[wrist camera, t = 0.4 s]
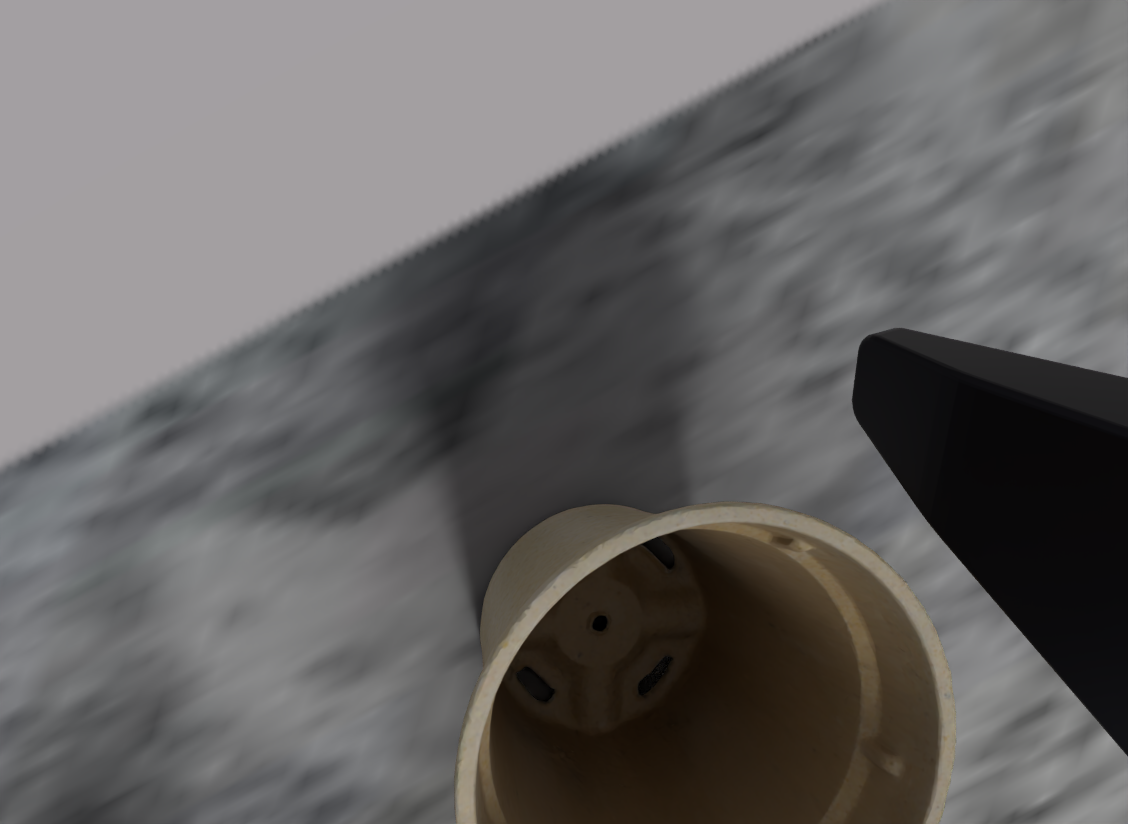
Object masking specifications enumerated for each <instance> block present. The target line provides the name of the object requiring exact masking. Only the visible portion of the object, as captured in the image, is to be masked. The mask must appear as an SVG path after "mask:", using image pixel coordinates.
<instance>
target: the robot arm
mask: <svg viewBox="0 0 1128 824" xmlns="http://www.w3.org/2000/svg"><path fill="white" fill-rule="evenodd" d="M852 404H853V410H854V414H855V416H856V419H857V421H858V422H859V424H860V425H861V427H862V428H863V430H864V431H865V433H866V434H867V436H868V437H869V438H870V440H871V441H872V443H873V444H874V446H875V447H876V449H877V450H878V451H879V453H880V454H881V456H882V457H883V459H884V460H885V462H886V463H887V465H888V466H889V467H890V469H891V470H892V472H893V473H894V475H895V476H896V478H897V479H898V480H899V482H900V483H901V485H902V486H903V488H904V489H905V491H906V492H907V494H908V495H909V496H910V498H911V499H912V501H913V502H914V504H915V505H916V507H917V508H918V509H919V511H920V512H921V513H922V515H923V516H924V517H925V519H926V520H927V522H928V523H929V524H930V525H931V527H932V528H933V529H934V530H935V532H936V533H937V534H938V535H939V536H940V538H941V539H942V540H943V541H944V543H945V544H946V545H947V546H948V547H949V548H950V550H951V551H952V552H953V553H954V554H955V555H956V557H957V558H958V559H959V560H960V561H961V562H962V564H963V565H964V566H965V567H966V568H967V569H968V571H969V572H970V573H971V574H972V575H973V576H974V578H975V579H976V580H977V581H978V582H979V583H980V585H981V586H982V587H983V588H984V589H985V590H986V592H987V593H988V594H989V595H990V596H991V597H992V599H993V600H994V601H995V602H996V603H997V604H998V606H999V607H1000V608H1001V609H1002V610H1003V611H1004V613H1005V614H1006V615H1007V616H1008V617H1009V618H1010V620H1011V621H1012V622H1013V623H1014V624H1015V625H1016V626H1017V628H1018V629H1019V630H1020V631H1021V632H1022V633H1023V635H1024V636H1025V637H1026V638H1027V639H1028V640H1029V642H1030V643H1031V644H1032V645H1033V646H1034V647H1035V649H1036V650H1037V651H1038V652H1039V653H1040V654H1041V656H1042V657H1043V658H1044V659H1045V660H1046V661H1047V663H1048V664H1049V665H1050V666H1051V667H1052V668H1053V670H1054V671H1055V672H1056V673H1057V674H1058V675H1059V677H1060V678H1061V679H1062V680H1063V681H1064V682H1065V684H1066V685H1067V686H1068V687H1069V688H1070V689H1071V691H1072V692H1073V693H1074V694H1075V695H1076V696H1077V698H1078V699H1079V700H1080V701H1081V702H1082V703H1083V705H1084V706H1085V707H1086V708H1087V709H1088V710H1089V712H1090V713H1091V714H1092V715H1093V716H1094V717H1095V719H1096V720H1097V721H1098V722H1099V723H1100V724H1101V726H1102V727H1103V728H1104V729H1105V730H1106V731H1107V733H1108V734H1109V735H1110V736H1111V737H1112V738H1113V740H1114V741H1115V742H1116V743H1117V744H1118V745H1119V747H1120V748H1121V749H1122V750H1123V751H1124V752H1125V754H1126V755H1127V756H1128V378H1125V377H1121V376H1116V375H1112V374H1107V373H1103V372H1098V371H1094V370H1089V369H1085V368H1080V367H1076V366H1071V365H1067V364H1062V363H1058V362H1053V361H1049V360H1044V359H1040V358H1035V357H1031V356H1026V355H1022V354H1017V353H1013V352H1008V351H1004V350H999V349H995V348H990V347H986V346H981V345H977V344H972V343H968V342H963V341H959V340H954V339H949V338H945V337H940V336H936V335H931V334H927V333H922V332H918V331H913V330H909V329H904V328H893V329H890V330H886V331H882V332H879V333H875V334H871V335H868V336H867V337H866V338H864V339H863V341H862V342H861V344H860V346H859V350H858V357H857V365H856V373H855V380H854V388H853V396H852Z"/></svg>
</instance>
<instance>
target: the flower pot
mask: <svg viewBox="0 0 1128 824" xmlns="http://www.w3.org/2000/svg"><path fill="white" fill-rule="evenodd" d="M655 537H659V538H660V539H661V540H662V541H663V542H664V544H665V545H667V546H668V547H669V548H670V549H671V550H672V553H673V556H674V566H673V567H672V568H670V569H667V567H666V566H665V565H664V564H663V563H662V562H661V561H660V560H659V559H658V558H657V557H656V556H655V555H654V554H653V553H652V552H651V551H650V550H649V549H647V548H646V547H645V546H644V545H642V543H644V542H646V541H648V540H651V539H653V538H655ZM598 616H606V618H607V626H606V628H605V629H604V630H602V631H596V630H595V629H593V622H594V620H595V618H596V617H598ZM480 641H481V648H482V656H483V670H482V672H481V674H480V676H479V678H478V681H477V683H476V685H475V688H474V690H473V692H472V695H471V698H470V701H469V705H468V708H467V711H466V714H465V717H464V721H463V725H462V729H461V734H460V738H459V745H458V751H457V758H456V765H455V776H454V790H455V816H456V824H939V822H940V819H941V817H942V814H943V811H944V808H945V801H946V796H947V791H948V788H949V785H950V782H951V773H952V769H953V764H954V760H955V744H956V735H955V734H956V711H955V703H954V696H953V690H952V678H951V671H950V669H949V667H948V662H947V660H946V657H945V654H944V650H943V647H942V644H941V642H940V640H939V637H938V635H937V631H936V629H935V627H934V626H933V623H932V621H931V619H930V617H929V616H928V615H927V614H926V610H925V608H924V607H923V606H922V604H921V603H920V602H919V600H918V599H917V597H916V596H915V595H914V593H913V592H912V591H911V589H910V588H909V587H908V585H907V583H906V582H905V581H904V580H903V578H902V577H901V576H900V575H898V574H897V573H896V572H895V571H894V570H893V569H892V567H891V566H890V565H889V564H888V563H886V562H885V561H884V560H883V559H882V558H881V557H880V556H879V555H878V554H876V553H875V552H874V551H873V550H871V549H870V548H868V547H867V546H866V545H864V544H863V543H861V542H860V541H859V540H857V539H856V538H855V537H853V536H851V535H850V534H848V533H846V532H844V531H842V530H841V529H839V528H837V527H835V526H833V525H831V524H829V523H827V522H825V521H823V520H820V519H818V518H815V517H812V516H809V515H806V514H803V513H799V512H796V511H792V510H789V509H785V508H782V507H778V506H772V505H767V504H762V503H748V502H714V503H705V504H697V505H690V506H686V507H682V508H678V509H673V510H669V511H666V512H662V513H659V514H653V513H649V512H644V511H641V510H638V509H635V508H631V507H627V506H621V505H612V504H597V505H588V506H583V507H577V508H572V509H569V510H566V511H563V512H560V513H558V514H556V515H553V516H551V517H549V518H548V519H546V520H544V521H542V522H541V523H539V524H538V525H537V526H535V527H534V528H532V529H531V530H530V531H528V532H527V533H526V534H525V535H523V536H522V537H521V538H520V539H519V540H518V541H517V542H516V543H515V544H514V545H513V546H512V548H511V549H510V550H509V551H508V552H507V554H506V555H505V556H504V558H503V559H502V561H501V562H500V564H499V565H498V567H497V569H496V571H495V573H494V574H493V576H492V578H491V581H490V583H489V586H488V588H487V591H486V594H485V598H484V603H483V609H482V616H481V626H480ZM665 656H668V657H670V658H672V660H671V661H670V663H669V664H668V666H667V669H666V672H665V673H664V674H663V676H662V677H661V678H660V679H659V681H658V682H657V683H656V685H655V686H654V687H653V688H652V689H651V690H650V691H648V692H647V693H645V694H644V695H640V694H639V692H638V684H639V682H640V681H641V680H642V679H643V678H644V677H645V676H646V675H648V674H650V673H651V672H652V670H653V669H654V668H655V667H656V665H657V664H658V663H659V662H660V661H661V660H662V659H663V658H664V657H665ZM524 667H529V668H530V669H532V670H533V671H534V672H535V673H536V674H537V675H538V676H539V677H540V678H541V679H542V680H543V681H544V682H545V683H546V684H547V685H549V686H550V688H554V694H553V696H552V697H551V698H550V699H549V700H548V701H547V702H543V701H538V700H536V699H534V697H533V696H532V695H531V694H530V693H529V692H528V690H527V689H526V687H525V686H524V684H522V683H521V682H520V681H519V679H518V677H517V672H519V671H521V670H522V669H523V668H524Z"/></svg>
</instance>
